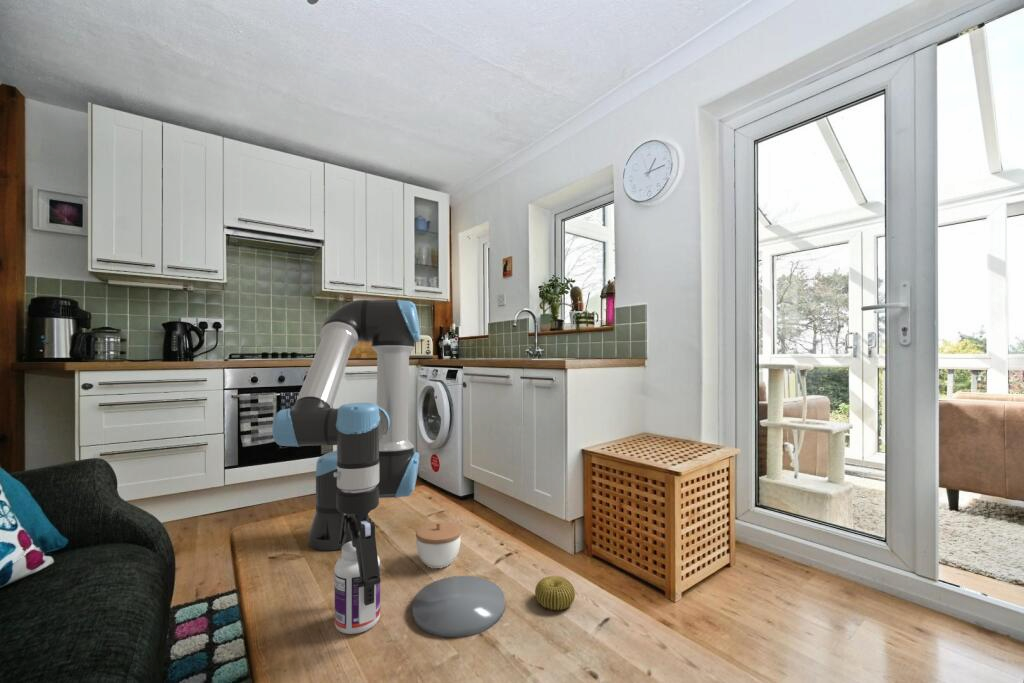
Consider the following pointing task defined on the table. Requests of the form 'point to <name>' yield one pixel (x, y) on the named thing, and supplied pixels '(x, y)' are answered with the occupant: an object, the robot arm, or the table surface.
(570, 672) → the table surface
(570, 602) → the green barrel cactus
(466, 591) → the grey plate
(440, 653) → the table surface
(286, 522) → the table surface
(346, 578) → the pill bottle
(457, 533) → the lidded jar
